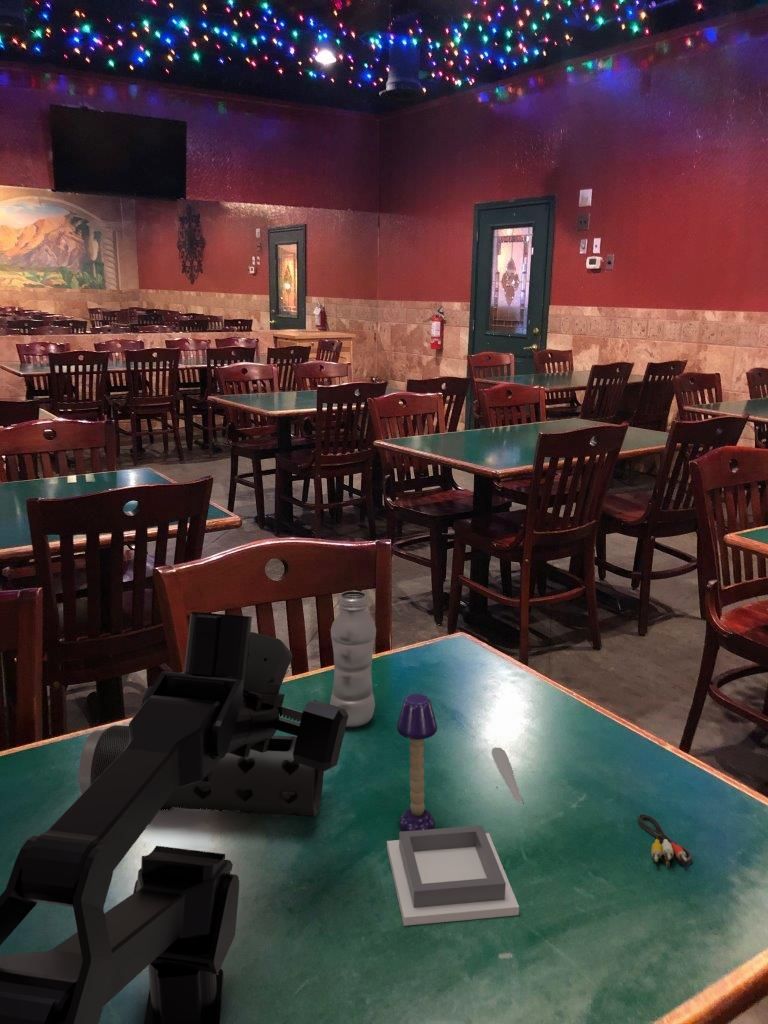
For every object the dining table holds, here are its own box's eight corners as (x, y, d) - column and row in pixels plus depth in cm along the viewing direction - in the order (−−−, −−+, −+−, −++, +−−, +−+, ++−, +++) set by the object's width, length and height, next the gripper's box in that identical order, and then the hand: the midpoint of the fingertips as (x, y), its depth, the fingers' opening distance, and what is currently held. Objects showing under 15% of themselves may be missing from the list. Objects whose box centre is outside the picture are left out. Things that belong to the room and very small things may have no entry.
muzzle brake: (313, 841, 96) (312, 763, 94) (79, 828, 98) (71, 750, 95) (324, 793, 105) (324, 720, 103) (110, 782, 107) (104, 710, 104)
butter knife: (510, 746, 116) (489, 745, 116) (568, 881, 90) (541, 881, 90) (509, 750, 116) (489, 749, 116) (567, 885, 91) (541, 885, 90)
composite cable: (633, 819, 102) (635, 801, 101) (673, 821, 101) (675, 804, 101) (653, 874, 92) (655, 855, 91) (697, 876, 92) (699, 857, 91)
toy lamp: (390, 832, 98) (392, 704, 94) (401, 809, 102) (403, 686, 98) (429, 840, 97) (434, 711, 92) (439, 816, 101) (443, 692, 96)
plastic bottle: (323, 716, 124) (322, 590, 119) (364, 707, 127) (365, 584, 122) (339, 736, 118) (339, 606, 113) (382, 727, 121) (384, 599, 116)
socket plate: (518, 915, 85) (520, 890, 84) (403, 925, 84) (404, 900, 83) (488, 840, 97) (489, 818, 96) (386, 848, 95) (387, 825, 94)
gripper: (333, 662, 77) (381, 661, 92) (163, 617, 83) (234, 622, 97) (304, 782, 76) (358, 761, 91) (134, 728, 82) (211, 716, 96)
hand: (289, 711), depth 94 cm, fingers open, 9 cm apart
